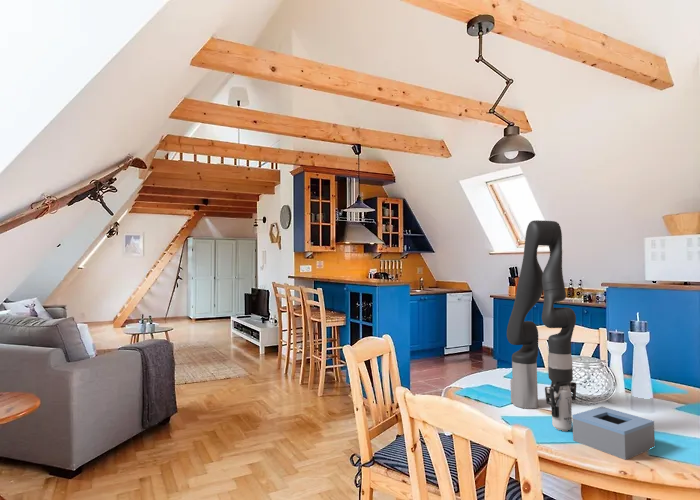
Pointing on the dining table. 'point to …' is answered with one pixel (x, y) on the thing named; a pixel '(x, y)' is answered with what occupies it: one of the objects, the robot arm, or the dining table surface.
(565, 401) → the energy drink can
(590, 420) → the box
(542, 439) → the dining table surface
